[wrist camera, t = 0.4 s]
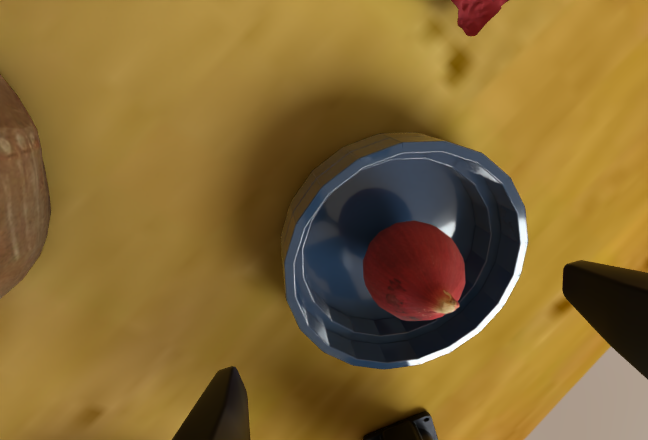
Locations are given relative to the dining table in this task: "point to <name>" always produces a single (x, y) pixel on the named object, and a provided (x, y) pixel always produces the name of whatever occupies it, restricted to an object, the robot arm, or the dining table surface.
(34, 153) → the ceramic vessel
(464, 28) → the plate with food
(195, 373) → the dining table surface
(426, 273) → the onion
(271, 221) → the dining table surface
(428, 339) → the bowl
